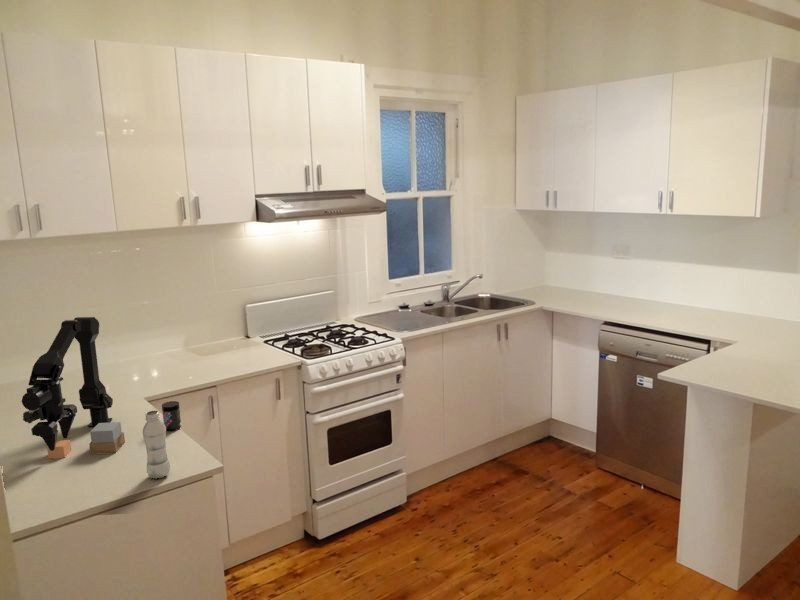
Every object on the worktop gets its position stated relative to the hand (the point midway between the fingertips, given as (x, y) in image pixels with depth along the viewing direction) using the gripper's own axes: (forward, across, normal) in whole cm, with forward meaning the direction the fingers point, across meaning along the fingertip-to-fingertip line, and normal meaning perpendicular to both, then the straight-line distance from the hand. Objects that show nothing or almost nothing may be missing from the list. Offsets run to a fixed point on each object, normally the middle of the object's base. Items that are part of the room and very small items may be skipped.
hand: (59, 444), depth 204 cm
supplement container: (+4, -17, +31) cm, 36 cm away
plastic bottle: (+4, +19, +37) cm, 42 cm away
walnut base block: (+4, -3, +14) cm, 15 cm away
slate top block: (0, -3, +14) cm, 14 cm away
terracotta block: (+4, 0, 0) cm, 4 cm away
